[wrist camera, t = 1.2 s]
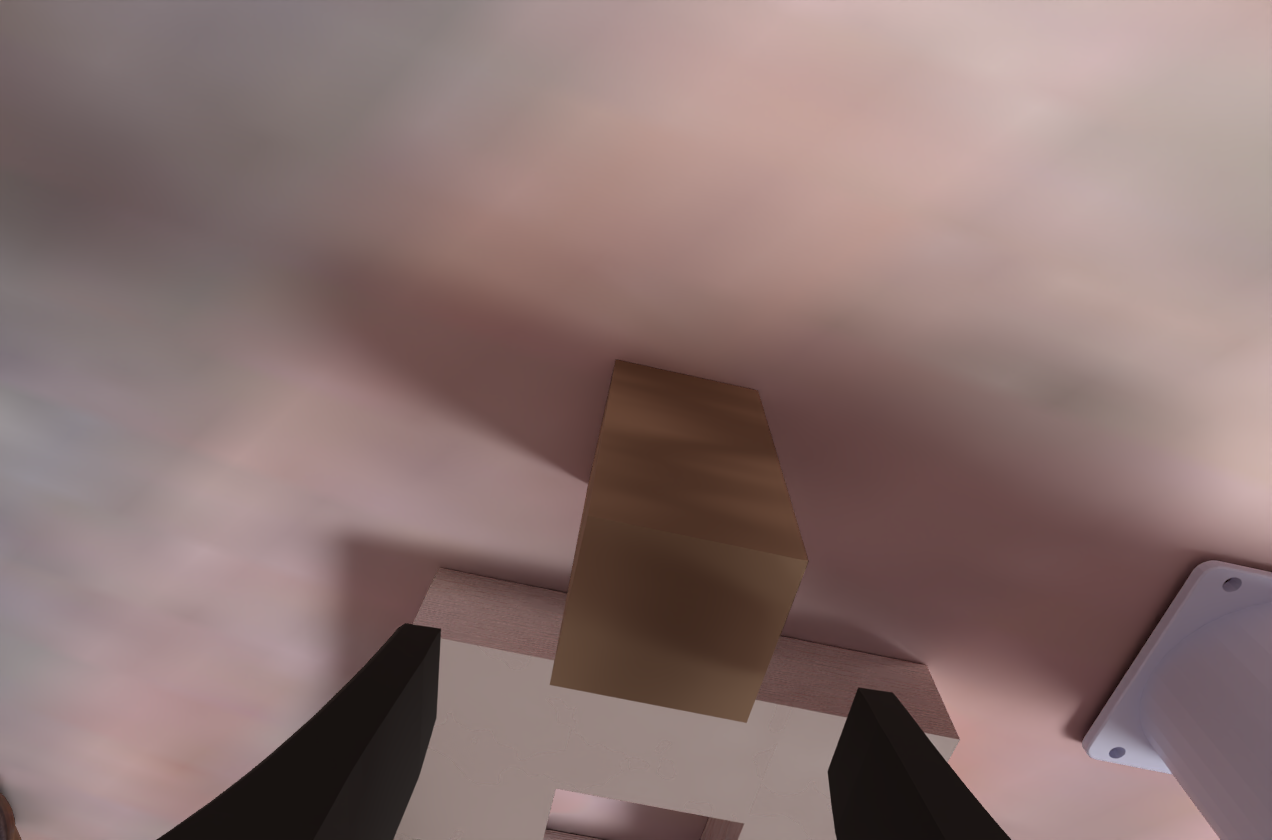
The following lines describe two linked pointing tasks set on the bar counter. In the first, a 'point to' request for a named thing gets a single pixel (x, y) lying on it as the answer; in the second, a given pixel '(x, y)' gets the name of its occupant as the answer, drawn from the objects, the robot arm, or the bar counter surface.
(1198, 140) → the bar counter surface
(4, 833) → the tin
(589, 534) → the pin
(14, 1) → the bar counter surface
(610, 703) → the collar
